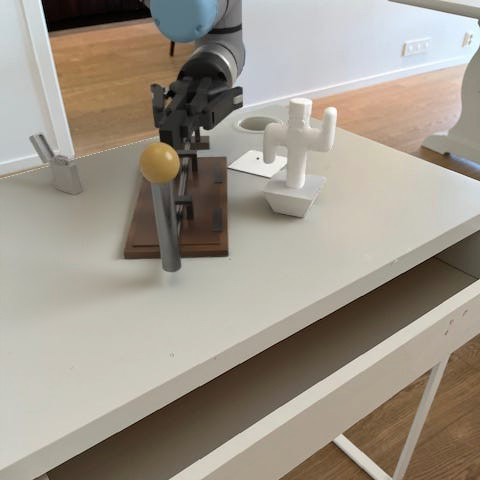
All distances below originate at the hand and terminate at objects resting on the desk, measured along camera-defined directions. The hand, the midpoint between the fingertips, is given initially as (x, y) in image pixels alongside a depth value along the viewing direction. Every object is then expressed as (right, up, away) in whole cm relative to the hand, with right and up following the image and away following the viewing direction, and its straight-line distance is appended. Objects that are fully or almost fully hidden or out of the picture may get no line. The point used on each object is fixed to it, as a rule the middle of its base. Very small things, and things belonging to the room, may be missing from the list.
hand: (166, 142), depth 57 cm
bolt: (0, -1, +17) cm, 17 cm away
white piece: (+12, +6, +28) cm, 30 cm away
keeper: (-1, +11, +33) cm, 35 cm away
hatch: (0, -3, +18) cm, 18 cm away
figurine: (+16, -4, +16) cm, 23 cm away
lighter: (-19, 0, +22) cm, 29 cm away
